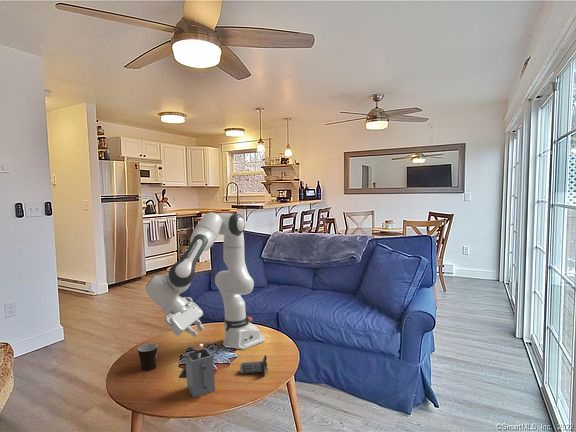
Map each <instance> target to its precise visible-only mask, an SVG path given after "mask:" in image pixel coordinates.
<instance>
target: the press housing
mask: <svg viewBox="0 0 576 432" xmlns="http://www.w3.org/2000/svg"><path fill="white" fill-rule="evenodd" d="M184 356H185V365H186V375H187V377H186V388H187V390H188V391H189V394H190V395H191V396H192V398H197V397H201V396H203V395H207V394H209V393H213V392H215V391H216V386H215V384H216V383H215V381H216V380H215V365H214V364H215V362H214V360H215V359H214V355H213V354H212V352H211V351H210V350H209V349H208V348H207V347H203V352H201V358H200V359H198V353H195V351H194V350H192V351H189V352H186V353H185V355H184Z"/></svg>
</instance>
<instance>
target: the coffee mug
mask: <svg viewBox="0 0 576 432" xmlns="http://www.w3.org/2000/svg"><path fill="white" fill-rule="evenodd" d="M137 353H138V357H139V362H140V368H141V369H140V370H141V371H142V370H143V372H151V371H153V370H155V369H156V367H157V356H158V344H157V343H154V342H151V343H145V344H142V345H140V346H138V348H137Z"/></svg>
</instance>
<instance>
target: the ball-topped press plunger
mask: <svg viewBox="0 0 576 432" xmlns="http://www.w3.org/2000/svg"><path fill="white" fill-rule="evenodd" d="M193 348H194V350H193V351H195V353H198V359H200V358H201V352H203V348H204V343H203V342H201V341H200V342H199V341H197V342H195V343H194V344H193Z"/></svg>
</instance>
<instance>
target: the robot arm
mask: <svg viewBox="0 0 576 432" xmlns="http://www.w3.org/2000/svg"><path fill="white" fill-rule="evenodd" d="M245 228H246V220H245V218H244V216H243V215H242V214H240V213H231V212H220V213H215V212H212V211H211V212H207V213H206V214H204V215H203V217H202V218H201V219H200V220H199V221H198V223H197V224H196V226H195V228H194V229H193V231H192V233H191V236H190V239H189V242H190V243H189V245H188V247H187V249H186V251H185V252H184V254H183V256H182V257H181V258H180V259H179V260H177V261H175V263H173V264H172V265H171V267H170V268H169V272H168V273H164V274H159V275H158V274H156V275H154V276H153V277H151V279H150V280H149V281H148V282H147V284H146V285H145V292H146V294H147V295H148V296H149V298H150V299H151V300H152V301H153V302H154V303H155V305H158V306H159V307H160V308H161V311H162V312H163V313H164V314H165V316H164V320H165V322H166V325H167V327H168V328H169V329H170V331H171V332H172V333H173V334H174V335H175V336H177V337H179V336H180V335H181V334H183V333H184V332H186V334H187V333H188V334H189V335H191V336H192V337H194V338H196V337H197V336H198V334H199V332H202V331H203V330H204V329H205V327H204V325H203V323H202V322H201V320H200V319H201V318H202V316H204V311H203V310H202V309H201V308H200V307H199V305H198V304H197V303H195V302H194V301H193V299H192V298H191V297H189V296H188V297H182V296H181V294H182V293H184V292H186V291H187V290H188V289H189V287H190V286H191V284H192V281H193V280H194V278H195V274H196V273H195V271H196V265H197V263H198V261H199V259H200V257H201V256H202V254H203V252H206V251H209V249H211V247H212V246H213V245H214V243H215V242H216V240H217V237H218V236H219V235H221V236H222V235H223V247H222V248H223V251H222V252H223V255H222V256H223V262H224V264H225V265H226V268H227V269H228V270H220V271H219V272H217V274H215V277H214V284H215V286H216V287H217V289H218V290H219V292H220V295H221V298H222V302H223V305H224V307H223V308H224V318H223V320H224V322H223V326H224V327H223V328H224V338H223V342H222V345H224V346H230V347H233V348H235V349H234V350H241V351H242V350H245V349H249V348H251V347H253V346H255V345H258V344H260V343H264V342H265V341H266V340H265V339H266V338H265V336H264V335H263V334H261V331H260V329H259V327H257V326H256V325H254V324H253V323H251V322H253V317H250V316H248V315H247V314H246V302H245V300H244V299H243V297H242V296H244V295H249V294H251V293H252V292H253V290H254V286H255V282H254V279H253V277H251V275H250V273H249V270H248V268H247V265H246V261H245V260H246V259H245V258H246V257H245V237H244V236H245V235H244V230H245ZM193 324H194V325H195V326H196V327H197V330H198V331H197V330H194V329H193V328H192V327H191V326H192V325H193ZM224 346H223V347H224Z"/></svg>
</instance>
